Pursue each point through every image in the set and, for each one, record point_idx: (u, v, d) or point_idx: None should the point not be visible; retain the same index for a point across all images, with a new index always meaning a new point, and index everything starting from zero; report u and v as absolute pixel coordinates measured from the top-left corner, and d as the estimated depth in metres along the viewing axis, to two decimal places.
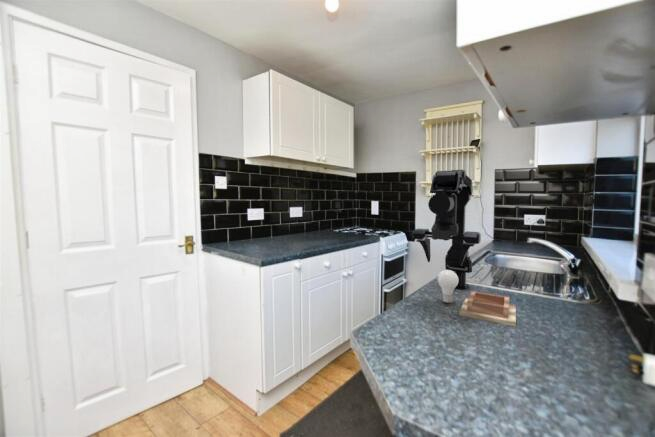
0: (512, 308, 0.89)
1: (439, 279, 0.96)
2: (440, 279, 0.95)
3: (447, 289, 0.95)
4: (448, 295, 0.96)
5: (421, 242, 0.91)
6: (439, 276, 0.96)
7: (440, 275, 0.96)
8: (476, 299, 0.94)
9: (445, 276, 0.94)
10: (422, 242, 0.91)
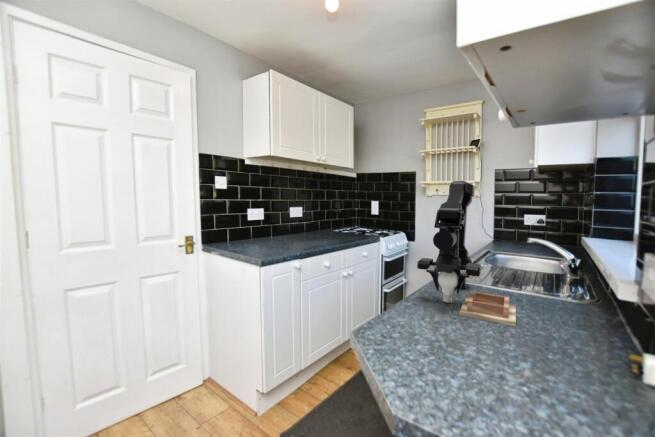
0: (512, 308, 0.89)
1: (439, 279, 0.96)
2: (440, 279, 0.95)
3: (447, 289, 0.95)
4: (448, 295, 0.96)
5: (430, 273, 0.97)
6: (439, 276, 0.96)
7: (440, 275, 0.96)
8: (476, 299, 0.94)
9: (445, 276, 0.94)
10: (431, 273, 0.97)
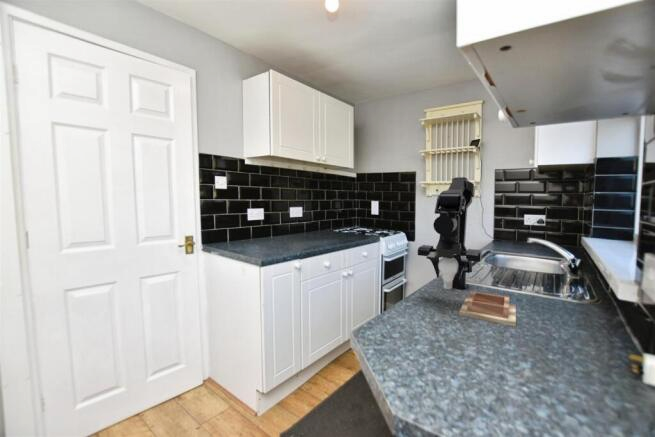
0: (512, 308, 0.89)
1: (440, 265, 0.95)
2: (441, 266, 0.95)
3: (448, 276, 0.95)
4: (449, 282, 0.95)
5: (431, 259, 0.96)
6: (439, 262, 0.96)
7: (440, 261, 0.95)
8: (476, 299, 0.94)
9: (445, 262, 0.94)
10: (432, 259, 0.96)
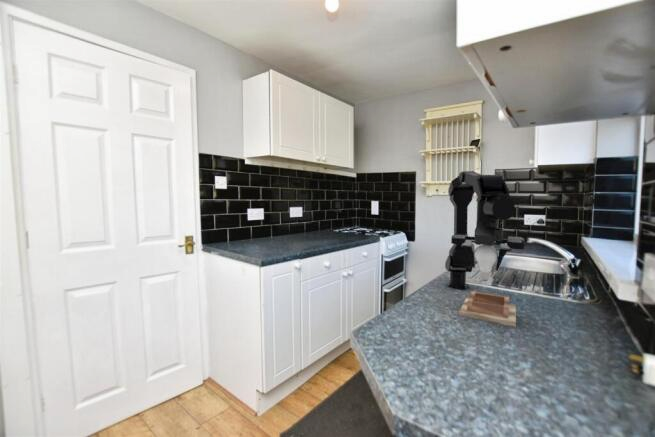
0: (512, 308, 0.89)
1: (476, 254, 0.88)
2: (478, 255, 0.87)
3: (486, 265, 0.87)
4: (486, 272, 0.87)
5: (467, 247, 0.89)
6: (476, 251, 0.88)
7: (477, 250, 0.88)
8: (476, 299, 0.94)
9: (483, 250, 0.86)
10: (468, 247, 0.89)
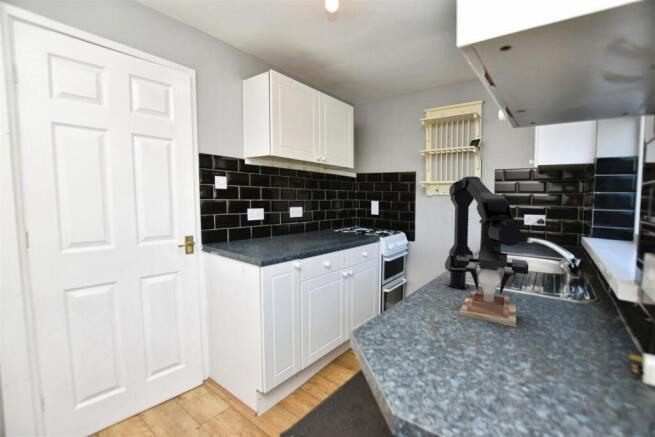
0: (512, 308, 0.89)
1: (480, 277, 0.87)
2: (482, 277, 0.87)
3: (490, 288, 0.87)
4: (490, 295, 0.87)
5: (470, 270, 0.89)
6: (480, 274, 0.88)
7: (481, 273, 0.88)
8: (476, 299, 0.94)
9: (488, 273, 0.86)
10: (472, 270, 0.88)
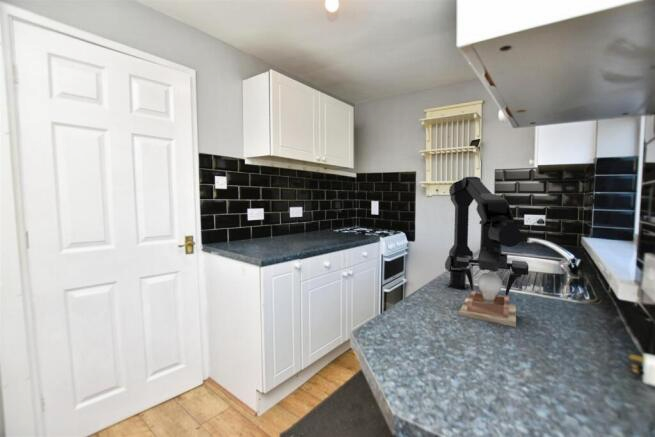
0: (512, 308, 0.89)
1: (481, 283, 0.87)
2: (482, 283, 0.87)
3: (489, 294, 0.87)
4: (490, 301, 0.87)
5: (465, 270, 0.89)
6: (480, 280, 0.88)
7: (481, 278, 0.88)
8: (476, 299, 0.94)
9: (488, 280, 0.86)
10: (466, 270, 0.89)
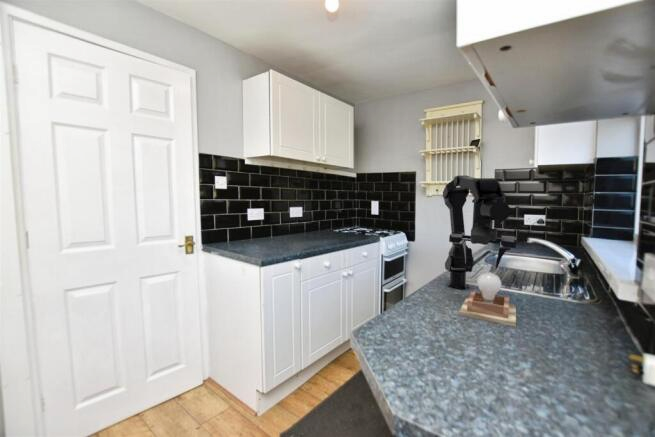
0: (512, 308, 0.89)
1: (480, 283, 0.88)
2: (481, 283, 0.87)
3: (489, 294, 0.87)
4: (490, 300, 0.88)
5: (458, 245, 0.96)
6: (479, 279, 0.88)
7: (481, 278, 0.88)
8: (476, 299, 0.94)
9: (487, 279, 0.86)
10: (459, 245, 0.96)
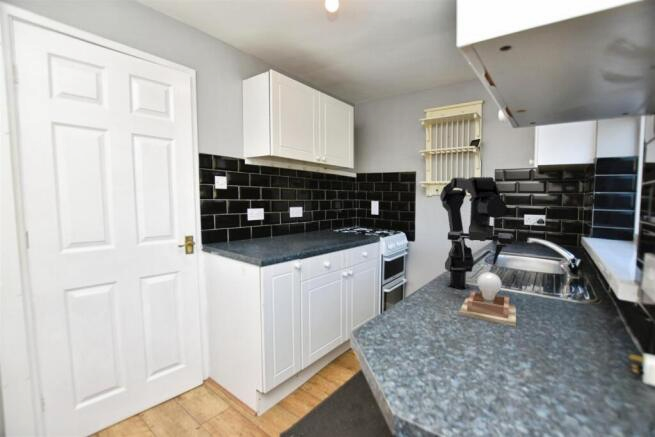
0: (512, 308, 0.89)
1: (480, 282, 0.88)
2: (481, 283, 0.87)
3: (489, 294, 0.87)
4: (490, 300, 0.88)
5: (456, 243, 0.98)
6: (480, 279, 0.88)
7: (481, 278, 0.88)
8: (476, 299, 0.94)
9: (487, 279, 0.86)
10: (457, 243, 0.98)
